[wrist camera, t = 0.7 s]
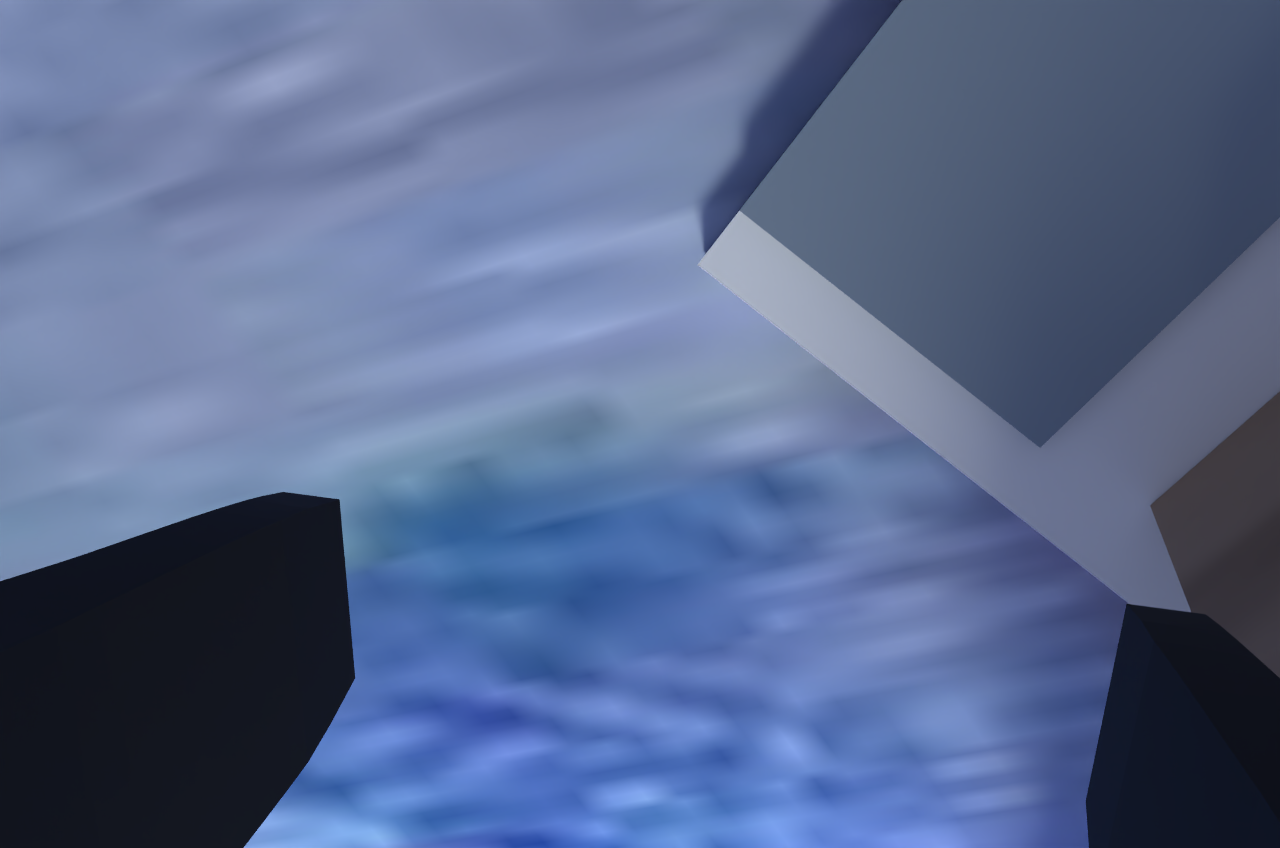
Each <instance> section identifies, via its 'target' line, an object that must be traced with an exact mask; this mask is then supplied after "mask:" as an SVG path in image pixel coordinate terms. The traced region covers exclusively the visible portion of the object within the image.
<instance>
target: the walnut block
mask: <svg viewBox="0 0 1280 848" xmlns="http://www.w3.org/2000/svg"><path fill="white" fill-rule="evenodd" d="M1150 507H1151V509H1152V512H1153V514H1154V517H1155V520H1156V522H1157V525H1158V527H1159V530H1160V533H1161V535H1162V538H1163V540H1164V543H1165V545H1166V548H1167V551H1168V553H1169V556H1170V558H1171V561H1172V564H1173V566H1174V569H1175V571H1176V574H1177V576H1178V579H1179V582H1180V584H1181V587H1182V589H1183V592H1184V595H1185V597H1186V600H1187V602H1188V605H1189V607H1190V610H1191V612H1193V613H1200V614H1206V615H1207V616H1209V617H1210V618H1211V619H1213V620H1214V621H1215V622H1216V623H1218V624H1219V625H1220V626H1221V627H1223V628H1224V629H1225V630H1226V631H1227V632H1229V633H1230V634H1231V635H1232V636H1233V637H1234V638H1236V639H1237V640H1238V641H1239V642H1240V643H1241V644H1242V645H1244V646H1245V647H1246V648H1247V649H1248V650H1249V651H1250V652H1251V653H1253V654H1254V655H1255V656H1256V657H1257V658H1258V659H1259V660H1260V661H1261V662H1263V663H1264V664H1265V665H1266V666H1267V667H1268V668H1269V669H1270V670H1271V671H1273V672H1274V673H1275V674H1276V675H1277V676H1278V677H1279V678H1280V392H1279V393H1277V394H1276V395H1275V396H1274V397H1273V398H1272V399H1271V400H1270V401H1268V402H1267V403H1266V404H1265V405H1264V406H1263V407H1262V408H1260V409H1259V410H1258V411H1257V412H1256V413H1255V414H1254V415H1252V416H1251V417H1250V418H1249V419H1248V420H1247V421H1246V422H1245V423H1243V424H1242V425H1241V426H1240V427H1239V428H1238V429H1237V430H1235V431H1234V432H1233V433H1232V434H1231V435H1230V436H1229V437H1227V438H1226V439H1225V440H1224V441H1223V442H1222V443H1221V444H1220V445H1218V446H1217V447H1216V448H1215V449H1214V450H1213V451H1212V452H1210V453H1209V454H1208V455H1207V456H1206V457H1205V458H1204V459H1203V460H1201V461H1200V462H1199V463H1198V464H1197V465H1196V466H1195V467H1193V468H1192V469H1191V470H1190V471H1189V472H1188V473H1187V474H1185V475H1184V476H1183V477H1182V478H1181V479H1180V480H1179V481H1178V482H1176V483H1175V484H1174V485H1173V486H1172V487H1171V488H1170V489H1168V490H1167V491H1166V492H1165V493H1164V494H1163V495H1162V496H1160V497H1159V498H1158V499H1157V500H1156V501H1155V502H1154V503H1153V504H1151V505H1150Z"/></svg>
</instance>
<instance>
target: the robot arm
mask: <svg viewBox="0 0 1280 848" xmlns="http://www.w3.org/2000/svg"><path fill="white" fill-rule="evenodd" d="M354 679H355V671H354V660H353V648H352V637H351V626H350V614H349V603H348V592H347V580H346V569H345V557H344V546H343V535H342V523H341V512H340V501H339V499H332V498H324V497H317V496H309V495H302V494H294V493H286V492H281V493H276V494H271V495H266V496H261V497H257V498H253V499H249V500H246V501H242V502H239V503H235V504H232V505H229V506H225V507H222V508H219V509H216V510H213V511H210V512H207V513H204V514H201V515H198V516H195V517H191V518H189V519H186V520H183V521H180V522H177V523H174V524H171V525H168V526H165V527H162V528H159V529H157V530H154V531H151V532H148V533H145V534H142V535H139V536H136V537H133V538H131V539H128V540H125V541H122V542H119V543H116V544H113V545H110V546H107V547H105V548H102V549H99V550H96V551H93V552H90V553H87V554H84V555H81V556H78V557H76V558H73V559H69V560H66V561H63V562H60V563H57V564H54V565H51V566H47V567H44V568H41V569H38V570H35V571H32V572H29V573H25V574H22V575H19V576H16V577H13V578H10V579H6V580H3V581H0V848H243V847H244V846H245V845H246V844H247V842H248V841H249V840H250V838H251V837H252V836H253V835H254V833H255V832H256V831H257V829H258V828H259V827H260V826H261V824H262V823H263V822H264V820H265V819H266V818H267V816H268V815H269V814H270V812H271V811H272V810H273V808H274V807H275V806H276V804H277V803H278V802H279V800H280V799H281V798H282V797H283V795H284V794H285V793H286V791H287V790H288V789H289V787H290V786H291V785H292V783H293V782H294V781H295V779H296V778H297V777H298V775H299V774H300V772H301V771H302V770H303V768H304V767H305V766H306V764H307V763H308V761H309V760H310V758H311V756H312V755H313V753H314V751H315V749H316V748H317V746H318V744H319V743H320V741H321V739H322V738H323V736H324V734H325V733H326V731H327V729H328V727H329V726H330V724H331V722H332V720H333V718H334V717H335V715H336V713H337V711H338V709H339V707H340V705H341V703H342V702H343V700H344V698H345V696H346V694H347V692H348V690H349V689H350V687H351V685H352V683H353V681H354ZM1086 810H1087V824H1088V839H1089V848H1280V678H1279V677H1278V676H1277V675H1276V674H1275V673H1274V672H1273V671H1271V670H1270V669H1269V668H1268V667H1267V666H1266V665H1265V664H1264V663H1263V662H1261V661H1260V660H1259V659H1258V658H1257V657H1256V656H1255V655H1254V654H1253V653H1251V652H1250V651H1249V650H1248V649H1247V648H1246V647H1245V646H1244V645H1242V644H1241V643H1240V642H1239V641H1238V640H1237V639H1236V638H1234V637H1233V636H1232V635H1231V634H1230V633H1229V632H1227V631H1226V630H1225V629H1224V628H1223V627H1221V626H1220V625H1219V624H1218V623H1216V622H1215V621H1214V620H1213V619H1211V618H1210V617H1209V616H1207V615H1206V614H1200V613H1193V612H1185V611H1178V610H1170V609H1163V608H1155V607H1147V606H1140V605H1132V604H1127V605H1126V610H1125V615H1124V620H1123V624H1122V629H1121V634H1120V639H1119V644H1118V649H1117V653H1116V658H1115V663H1114V668H1113V673H1112V677H1111V682H1110V687H1109V692H1108V697H1107V702H1106V706H1105V711H1104V716H1103V721H1102V726H1101V730H1100V735H1099V740H1098V745H1097V750H1096V755H1095V759H1094V764H1093V769H1092V774H1091V779H1090V784H1089V788H1088V793H1087V798H1086Z"/></svg>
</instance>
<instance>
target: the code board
mask: <svg viewBox="0 0 1280 848" xmlns="http://www.w3.org/2000/svg"><path fill="white" fill-rule="evenodd" d="M698 266H699V267H701V268H702V269H703V270H704V271H706V272H707V273H708V274H709V275H711V276H712V277H713V278H715V279H716V280H717V281H718V282H720V283H721V284H722V285H724V286H725V287H726V288H727V289H729V290H730V291H731V292H732V293H734V294H735V295H736V296H738V297H739V298H740V299H741V300H743V301H744V302H745V303H746V304H748V305H749V306H750V307H752V308H753V309H754V310H755V311H757V312H758V313H759V314H760V315H762V316H763V317H764V318H766V319H767V320H768V321H769V322H771V323H772V324H773V325H774V326H776V327H777V328H778V329H780V330H781V331H782V332H783V333H785V334H786V335H787V336H788V337H790V338H791V339H792V340H794V341H795V342H796V343H797V344H799V345H800V346H801V347H802V348H804V349H805V350H806V351H808V352H809V353H810V354H811V355H813V356H814V357H815V358H816V359H818V360H819V361H820V362H822V363H823V364H824V365H825V366H827V367H828V368H829V369H830V370H832V371H833V372H834V373H836V374H837V375H838V376H839V377H841V378H842V379H843V380H844V381H846V382H847V383H848V384H850V385H851V386H852V387H853V388H855V389H856V390H857V391H859V392H860V393H861V394H862V395H864V396H865V397H866V398H867V399H869V400H870V401H871V402H873V403H874V404H875V405H876V406H878V407H879V408H880V409H881V410H883V411H884V412H885V413H887V414H888V415H889V416H890V417H892V418H893V419H894V420H895V421H897V422H898V423H899V424H901V425H902V426H903V427H904V428H906V429H907V430H908V431H909V432H911V433H912V434H913V435H915V436H916V437H917V438H918V439H920V440H921V441H922V442H923V443H925V444H926V445H927V446H929V447H930V448H931V449H932V450H934V451H935V452H936V453H937V454H939V455H940V456H941V457H943V458H944V459H945V460H946V461H948V462H949V463H950V464H951V465H953V466H954V467H955V468H957V469H958V470H959V471H960V472H962V473H963V474H964V475H965V476H967V477H968V478H969V479H971V480H972V481H973V482H974V483H976V484H977V485H978V486H979V487H981V488H982V489H983V490H985V491H986V492H987V493H988V494H990V495H991V496H992V497H994V498H995V499H996V500H997V501H999V502H1000V503H1001V504H1002V505H1004V506H1005V507H1006V508H1008V509H1009V510H1010V511H1011V512H1013V513H1014V514H1015V515H1016V516H1018V517H1019V518H1020V519H1022V520H1023V521H1024V522H1025V523H1027V524H1028V525H1029V526H1030V527H1032V528H1033V529H1034V530H1036V531H1037V532H1038V533H1039V534H1041V535H1042V536H1043V537H1044V538H1046V539H1047V540H1048V541H1050V542H1051V543H1052V544H1053V545H1055V546H1056V547H1057V548H1058V549H1060V550H1061V551H1062V552H1064V553H1065V554H1066V555H1067V556H1069V557H1070V558H1071V559H1072V560H1074V561H1075V562H1076V563H1078V564H1079V565H1080V566H1081V567H1083V568H1084V569H1085V570H1086V571H1088V572H1089V573H1090V574H1092V575H1093V576H1094V577H1095V578H1097V579H1098V580H1099V581H1100V582H1102V583H1103V584H1104V585H1106V586H1107V587H1108V588H1109V589H1111V590H1112V591H1113V592H1114V593H1116V594H1117V595H1118V596H1120V597H1121V598H1122V599H1123V600H1125V601H1126V602H1127V603H1129V604H1132V605H1140V606H1147V607H1155V608H1163V609H1170V610H1178V611H1185V612H1191V610H1190V607H1189V605H1188V602H1187V600H1186V597H1185V595H1184V592H1183V589H1182V587H1181V584H1180V582H1179V579H1178V576H1177V574H1176V571H1175V569H1174V566H1173V564H1172V561H1171V558H1170V556H1169V553H1168V551H1167V548H1166V545H1165V543H1164V540H1163V538H1162V535H1161V533H1160V530H1159V527H1158V525H1157V522H1156V520H1155V517H1154V514H1153V512H1152V509H1151V507H1150V505H1151V504H1153V503H1154V502H1155V501H1156V500H1157V499H1158V498H1159V497H1160V496H1162V495H1163V494H1164V493H1165V492H1166V491H1167V490H1168V489H1170V488H1171V487H1172V486H1173V485H1174V484H1175V483H1176V482H1178V481H1179V480H1180V479H1181V478H1182V477H1183V476H1184V475H1185V474H1187V473H1188V472H1189V471H1190V470H1191V469H1192V468H1193V467H1195V466H1196V465H1197V464H1198V463H1199V462H1200V461H1201V460H1203V459H1204V458H1205V457H1206V456H1207V455H1208V454H1209V453H1210V452H1212V451H1213V450H1214V449H1215V448H1216V447H1217V446H1218V445H1220V444H1221V443H1222V442H1223V441H1224V440H1225V439H1226V438H1227V437H1229V436H1230V435H1231V434H1232V433H1233V432H1234V431H1235V430H1237V429H1238V428H1239V427H1240V426H1241V425H1242V424H1243V423H1245V422H1246V421H1247V420H1248V419H1249V418H1250V417H1251V416H1252V415H1254V414H1255V413H1256V412H1257V411H1258V410H1259V409H1260V408H1262V407H1263V406H1264V405H1265V404H1266V403H1267V402H1268V401H1270V400H1271V399H1272V398H1273V397H1274V396H1275V395H1276V394H1277V393H1279V392H1280V218H1279V219H1278V220H1277V221H1275V222H1274V223H1273V224H1272V225H1271V226H1270V227H1269V228H1268V229H1267V230H1266V231H1265V232H1264V233H1263V234H1262V235H1261V236H1260V237H1259V238H1258V239H1257V240H1256V241H1255V242H1254V243H1253V244H1252V245H1251V246H1249V247H1248V248H1247V249H1246V250H1245V251H1244V252H1243V253H1242V254H1241V255H1240V256H1239V257H1238V258H1237V259H1236V260H1235V261H1234V262H1233V263H1232V264H1231V265H1230V266H1229V267H1228V268H1227V269H1226V270H1225V271H1223V272H1222V273H1221V274H1220V275H1219V276H1218V277H1217V278H1216V279H1215V280H1214V281H1213V282H1212V283H1211V284H1210V285H1209V286H1208V287H1207V288H1206V289H1205V290H1204V291H1203V292H1202V293H1201V294H1200V295H1199V296H1198V297H1196V298H1195V299H1194V300H1193V301H1192V302H1191V303H1190V304H1189V305H1188V306H1187V307H1186V308H1185V309H1184V310H1183V311H1182V312H1181V313H1180V314H1179V315H1178V316H1177V317H1176V318H1175V319H1174V320H1173V321H1172V322H1170V323H1169V324H1168V325H1167V326H1166V327H1165V328H1164V329H1163V330H1162V331H1161V332H1160V333H1159V334H1158V335H1157V336H1156V337H1155V338H1154V339H1153V340H1152V341H1151V342H1150V343H1149V344H1148V345H1147V346H1146V347H1144V348H1143V349H1142V350H1141V351H1140V352H1139V353H1138V354H1137V355H1136V356H1135V357H1134V358H1133V359H1132V360H1131V361H1130V362H1129V363H1128V364H1127V365H1126V366H1125V367H1124V368H1123V369H1122V370H1121V371H1120V372H1118V373H1117V374H1116V375H1115V376H1114V377H1113V378H1112V379H1111V380H1110V381H1109V382H1108V383H1107V384H1106V385H1105V386H1104V387H1103V388H1102V389H1101V390H1100V391H1099V392H1098V393H1097V394H1096V395H1095V396H1094V397H1092V398H1091V399H1090V400H1089V401H1088V402H1087V403H1086V404H1085V405H1084V406H1083V407H1082V408H1081V409H1080V410H1079V411H1078V412H1077V413H1076V414H1075V415H1074V416H1073V417H1072V418H1071V419H1070V420H1069V421H1068V422H1067V423H1065V424H1064V425H1063V426H1062V427H1061V428H1060V429H1059V430H1058V431H1057V432H1056V433H1055V434H1054V435H1053V436H1052V437H1051V438H1050V439H1049V440H1048V441H1047V442H1046V443H1045V444H1044V445H1043V446H1042V447H1041V448H1040V447H1038V446H1037V445H1036V444H1034V443H1033V442H1032V441H1031V440H1029V439H1028V438H1027V437H1026V436H1024V435H1023V434H1022V433H1021V432H1019V431H1018V430H1017V429H1015V428H1014V427H1013V426H1012V425H1010V424H1009V423H1008V422H1007V421H1005V420H1004V419H1003V418H1002V417H1000V416H999V415H998V414H996V413H995V412H994V411H993V410H991V409H990V408H989V407H988V406H986V405H985V404H984V403H983V402H981V401H980V400H979V399H977V398H976V397H975V396H974V395H972V394H971V393H970V392H969V391H967V390H966V389H965V388H964V387H962V386H961V385H960V384H958V383H957V382H956V381H955V380H953V379H952V378H951V377H950V376H948V375H947V374H946V373H945V372H943V371H942V370H941V369H939V368H938V367H937V366H936V365H934V364H933V363H932V362H931V361H929V360H928V359H927V358H926V357H924V356H923V355H922V354H920V353H919V352H918V351H917V350H915V349H914V348H913V347H912V346H910V345H909V344H908V343H907V342H905V341H904V340H903V339H901V338H900V337H899V336H898V335H896V334H895V333H894V332H893V331H891V330H890V329H889V328H888V327H886V326H885V325H884V324H882V323H881V322H880V321H879V320H877V319H876V318H875V317H874V316H872V315H871V314H870V313H869V312H867V311H866V310H865V309H863V308H862V307H861V306H860V305H858V304H857V303H856V302H855V301H853V300H852V299H851V298H850V297H848V296H847V295H846V294H844V293H843V292H842V291H841V290H839V289H838V288H837V287H836V286H834V285H833V284H832V283H831V282H829V281H828V280H827V279H825V278H824V277H823V276H822V275H820V274H819V273H818V272H817V271H815V270H814V269H813V268H812V267H810V266H809V265H808V264H806V263H805V262H804V261H803V260H801V259H800V258H799V257H798V256H796V255H795V254H794V253H793V252H791V251H790V250H789V249H787V248H786V247H785V246H784V245H782V244H781V243H780V242H779V241H777V240H776V239H775V238H774V237H772V236H771V235H770V234H768V233H767V232H766V231H765V230H763V229H762V228H761V227H760V226H758V225H757V224H756V223H755V222H753V221H752V220H751V219H749V218H748V217H747V216H746V215H744V214H743V213H742V212H741V211H739V212H738V213H737V214H736V216H735V217H734V218H733V219H732V221H731V222H730V223H729V225H728V226H727V227H726V228H725V230H724V231H723V232H722V234H721V235H720V236H719V237H718V239H717V240H716V241H715V243H714V244H713V245H712V247H711V248H710V249H709V250H708V252H707V253H706V254H705V256H704V257H703V258H702V259H701V261H700V262H699V263H698Z"/></svg>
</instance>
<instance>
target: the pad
mask: <svg viewBox="0 0 1280 848" xmlns="http://www.w3.org/2000/svg"><path fill="white" fill-rule="evenodd" d="M739 211H741V212H742V213H743V214H744V215H746V216H747V217H748V218H749V219H751V220H752V221H753V222H755V223H756V224H757V225H758V226H760V227H761V228H762V229H763V230H765V231H766V232H767V233H768V234H770V235H771V236H772V237H774V238H775V239H776V240H777V241H779V242H780V243H781V244H782V245H784V246H785V247H786V248H787V249H789V250H790V251H791V252H793V253H794V254H795V255H796V256H798V257H799V258H800V259H801V260H803V261H804V262H805V263H806V264H808V265H809V266H810V267H812V268H813V269H814V270H815V271H817V272H818V273H819V274H820V275H822V276H823V277H824V278H825V279H827V280H828V281H829V282H831V283H832V284H833V285H834V286H836V287H837V288H838V289H839V290H841V291H842V292H843V293H844V294H846V295H847V296H848V297H850V298H851V299H852V300H853V301H855V302H856V303H857V304H858V305H860V306H861V307H862V308H863V309H865V310H866V311H867V312H869V313H870V314H871V315H872V316H874V317H875V318H876V319H877V320H879V321H880V322H881V323H882V324H884V325H885V326H886V327H888V328H889V329H890V330H891V331H893V332H894V333H895V334H896V335H898V336H899V337H900V338H901V339H903V340H904V341H905V342H907V343H908V344H909V345H910V346H912V347H913V348H914V349H915V350H917V351H918V352H919V353H920V354H922V355H923V356H924V357H926V358H927V359H928V360H929V361H931V362H932V363H933V364H934V365H936V366H937V367H938V368H939V369H941V370H942V371H943V372H945V373H946V374H947V375H948V376H950V377H951V378H952V379H953V380H955V381H956V382H957V383H958V384H960V385H961V386H962V387H964V388H965V389H966V390H967V391H969V392H970V393H971V394H972V395H974V396H975V397H976V398H977V399H979V400H980V401H981V402H983V403H984V404H985V405H986V406H988V407H989V408H990V409H991V410H993V411H994V412H995V413H996V414H998V415H999V416H1000V417H1002V418H1003V419H1004V420H1005V421H1007V422H1008V423H1009V424H1010V425H1012V426H1013V427H1014V428H1015V429H1017V430H1018V431H1019V432H1021V433H1022V434H1023V435H1024V436H1026V437H1027V438H1028V439H1029V440H1031V441H1032V442H1033V443H1034V444H1036V445H1037V446H1038V447H1040V448H1041V447H1042V446H1043V445H1044V444H1045V443H1046V442H1047V441H1048V440H1049V439H1050V438H1051V437H1052V436H1053V435H1054V434H1055V433H1056V432H1057V431H1058V430H1059V429H1060V428H1061V427H1062V426H1063V425H1064V424H1065V423H1067V422H1068V421H1069V420H1070V419H1071V418H1072V417H1073V416H1074V415H1075V414H1076V413H1077V412H1078V411H1079V410H1080V409H1081V408H1082V407H1083V406H1084V405H1085V404H1086V403H1087V402H1088V401H1089V400H1090V399H1091V398H1092V397H1094V396H1095V395H1096V394H1097V393H1098V392H1099V391H1100V390H1101V389H1102V388H1103V387H1104V386H1105V385H1106V384H1107V383H1108V382H1109V381H1110V380H1111V379H1112V378H1113V377H1114V376H1115V375H1116V374H1117V373H1118V372H1120V371H1121V370H1122V369H1123V368H1124V367H1125V366H1126V365H1127V364H1128V363H1129V362H1130V361H1131V360H1132V359H1133V358H1134V357H1135V356H1136V355H1137V354H1138V353H1139V352H1140V351H1141V350H1142V349H1143V348H1144V347H1146V346H1147V345H1148V344H1149V343H1150V342H1151V341H1152V340H1153V339H1154V338H1155V337H1156V336H1157V335H1158V334H1159V333H1160V332H1161V331H1162V330H1163V329H1164V328H1165V327H1166V326H1167V325H1168V324H1169V323H1170V322H1172V321H1173V320H1174V319H1175V318H1176V317H1177V316H1178V315H1179V314H1180V313H1181V312H1182V311H1183V310H1184V309H1185V308H1186V307H1187V306H1188V305H1189V304H1190V303H1191V302H1192V301H1193V300H1194V299H1195V298H1196V297H1198V296H1199V295H1200V294H1201V293H1202V292H1203V291H1204V290H1205V289H1206V288H1207V287H1208V286H1209V285H1210V284H1211V283H1212V282H1213V281H1214V280H1215V279H1216V278H1217V277H1218V276H1219V275H1220V274H1221V273H1222V272H1223V271H1225V270H1226V269H1227V268H1228V267H1229V266H1230V265H1231V264H1232V263H1233V262H1234V261H1235V260H1236V259H1237V258H1238V257H1239V256H1240V255H1241V254H1242V253H1243V252H1244V251H1245V250H1246V249H1247V248H1248V247H1249V246H1251V245H1252V244H1253V243H1254V242H1255V241H1256V240H1257V239H1258V238H1259V237H1260V236H1261V235H1262V234H1263V233H1264V232H1265V231H1266V230H1267V229H1268V228H1269V227H1270V226H1271V225H1272V224H1273V223H1274V222H1275V221H1277V220H1278V219H1279V218H1280V0H902V1H901V2H900V4H899V5H898V6H897V7H896V9H895V10H894V11H893V13H892V14H891V15H890V17H889V18H888V19H887V20H886V22H885V23H884V24H883V26H882V27H881V28H880V29H879V31H878V32H877V33H876V35H875V36H874V37H873V38H872V40H871V41H870V42H869V44H868V45H867V46H866V48H865V49H864V50H863V51H862V53H861V54H860V55H859V57H858V58H857V59H856V60H855V62H854V63H853V64H852V66H851V67H850V68H849V69H848V71H847V72H846V73H845V75H844V76H843V77H842V79H841V80H840V81H839V82H838V84H837V85H836V86H835V88H834V89H833V90H832V91H831V93H830V94H829V95H828V97H827V98H826V99H825V100H824V102H823V103H822V104H821V106H820V107H819V108H818V110H817V111H816V112H815V113H814V115H813V116H812V117H811V119H810V120H809V121H808V122H807V124H806V125H805V126H804V128H803V129H802V130H801V131H800V133H799V134H798V135H797V137H796V138H795V139H794V141H793V142H792V143H791V144H790V146H789V147H788V148H787V150H786V151H785V152H784V153H783V155H782V156H781V157H780V159H779V160H778V161H777V162H776V164H775V165H774V166H773V168H772V169H771V170H770V172H769V173H768V174H767V175H766V177H765V178H764V179H763V181H762V182H761V183H760V184H759V186H758V187H757V188H756V190H755V191H754V192H753V193H752V195H751V196H750V197H749V199H748V200H747V201H746V203H745V204H744V205H743V206H742V208H741V209H740V210H739Z"/></svg>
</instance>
